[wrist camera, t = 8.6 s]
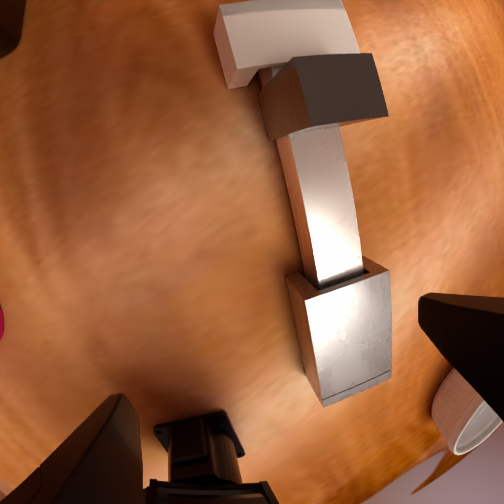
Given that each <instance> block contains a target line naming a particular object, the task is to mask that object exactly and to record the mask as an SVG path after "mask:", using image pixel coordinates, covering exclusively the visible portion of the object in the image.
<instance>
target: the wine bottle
mask: <svg viewBox="0 0 504 504" xmlns="http://www.w3.org/2000/svg"><path fill="white" fill-rule="evenodd" d="M24 4H25V0H0V58H1V57H3V56H4V55H6V54H8V53H9V52H11V51H12V50H13V49H14V48H15V46H16V45H17V43H18V41H19V38H20V31H21V23H22V16H23V10H24Z"/></svg>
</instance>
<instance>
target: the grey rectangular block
mask: <svg viewBox="0 0 504 504" xmlns="http://www.w3.org/2000/svg"><path fill="white" fill-rule="evenodd" d="M213 35H214V39H215V43H216V46H217V50H218V54H219V58H220V62H221V65H222V69H223V73H224V77H225V81H226V84H227V88H228V89H232V88H237V87H242V86H247V85H248V83H249V82H250V81H251V79H252V78H253V76H254V75H255V73H256V72H257V71H258V69H261V68H268V67H275V66H283V65H285V64H286V63H287V62H288V61H289V60H290V59H291V58H292V57H298V56H309V55H324V54H349V53H360V50H359V47H358V44H357V41H356V38H355V35H354V32H353V29H352V27H351V24H350V21H349V18H348V16H347V13H346V10H345V8H344V5H343V3H342V0H255V1H245V2H237V3H229V4H222V5H219V9H218V13H217V18H216V23H215V29H214V34H213Z"/></svg>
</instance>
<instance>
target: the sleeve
mask: <svg viewBox="0 0 504 504" xmlns="http://www.w3.org/2000/svg"><path fill="white" fill-rule="evenodd" d="M362 262H363V271H364V275H362V276H359V277H357V278H354V279H351V280H348V281H345V282H343V283H340V284H337V285H334V286H331V287H328V288H325V289H322V290H319V291H317V290H316V289H315V288H314V287H313V286H312V285H311V284H310V283H309V282H308V281H307V280H306V279H305V278H304V277H303V276H302V275H301V274H300V273H299V272H298V273H295V274H292V275H288V276H285V280H286V285H287V289H288V294H289V298H290V303H291V308H292V312H293V317H294V322H295V327H296V332H297V336H298V341H299V346H300V351H301V356H302V361H303V366H304V371H305V376H306V378H307V379H308V381H309V383H310V385H311V387H312V388H313V390H314V392H315V394H316V395H317V397H318V399H319V401H320V403H321V404H322V406H323V407H326V406H329V405H331V404H334V403H336V402H339V401H341V400H343V399H346V398H348V397H351V396H353V395H355V394H357V393H360V392H362V391H364V390H366V389H369V388H371V387H373V386H375V385H377V384H379V383H381V382H384V381H386V380H388V379H390V378H391V369H392V312H391V288H390V272H389V270H388V269H386V268H384V267H382V266H381V265H379V264H377V263H375V262H374V261H372V260H370V259H368V258H366V257H365V256H363V255H362Z"/></svg>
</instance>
